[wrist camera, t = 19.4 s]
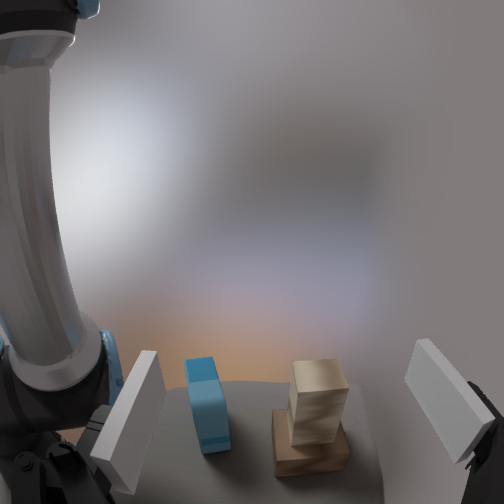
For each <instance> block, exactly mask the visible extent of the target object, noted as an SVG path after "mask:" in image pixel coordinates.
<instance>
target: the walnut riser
mask: <svg viewBox="0 0 504 504" xmlns="http://www.w3.org/2000/svg"><path fill="white" fill-rule="evenodd" d="M287 412H288V409H284V410H272V428H271V430H272V443H273V457H274V470H275V477H286V476H298V475H308V474H317V473H324V472H331V471H338V470H343V469H344V467H345V464H346V462H347V460H348V457H349V455H350V453H351V452H350V449H349V445H348V442H347V439H346V436H345V433H344V429H343V426H342V423H341V420H340V423H339V426H338V429H337V433H336V436H335V439H334V442H330V443H322V444H312V445H301V446H291V444H290V436H289V428H288V420H287Z"/></svg>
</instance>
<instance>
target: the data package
mask: <svg viewBox="0 0 504 504" xmlns="http://www.w3.org/2000/svg"><path fill="white" fill-rule="evenodd" d="M184 365H185V372H186V378H187V385H188V391H189V397H190V403H191V408H192V414H193V418H194V423H195V427H196V431H197V436H198V440H199V444H200V448H201V452H202V454H206V453H213V452H220V451H226V450H230V449H231V442H230V433H229V423H228V413H227V406H226V401H225V397H224V394H223V391H222V387H221V384H220V381H219V378H218V374H217V371H216V367H215V364H214V361H213V358H212V357H203V358H195V359H186V360H184Z"/></svg>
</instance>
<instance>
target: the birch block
mask: <svg viewBox="0 0 504 504" xmlns="http://www.w3.org/2000/svg"><path fill="white" fill-rule="evenodd" d="M348 390H349V387H348V384H347V382H346V379H345V377H344V374H343V372H342V369H341V367H340V364H339V362H338V360H337V359H324V360H310V361H292V369H291V381H290V392H289V402H288V412H287V420H288V428H289V436H290V444H291V446H301V445H312V444H322V443H330V442H334V439H335V436H336V433H337V429H338V426H339V423H340V419H341V416H342V412H343V409H344V405H345V401H346V397H347V393H348Z"/></svg>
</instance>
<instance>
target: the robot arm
mask: <svg viewBox="0 0 504 504" xmlns="http://www.w3.org/2000/svg"><path fill="white" fill-rule="evenodd" d="M99 3H100V0H0V324H1V326H2V328H3V330H4V332H5V334H6V335H7V337H8V339H9V341H10V345H8V346H6V345H4V340H3V338H2V337H1V336H0V472H1V475H2V476H3V478H4V479H5V481H6V482H7V483H8V484H9V485H10V486H11V487H12V504H116V502H115V500H114V499H113V497H112V495H111V494H110V492H109V491H110V489H111V486H113V487H114V489H115V490H116V491H118V492H122V493H126V494H130V495H134V494H135V491H136V487H137V484H138V481H139V477H140V474H141V471H142V467H143V464H144V461H145V457H146V454H147V451H148V448H149V444H150V441H151V438H152V435H153V432H154V429H155V426H156V422H157V419H158V416H159V413H160V410H161V407H162V404H163V401H164V398H165V395H166V389H165V385H164V381H163V377H162V372H161V368H160V363H159V359H158V355H157V352H156V351H145V350H142V352H141V354H140V356H139V357H138V360H137V361H136V363H135V365H134V367H133V369H132V371H131V373H130V375H129V377H128V378H127V380H126V382H125V384H124V382H123V376H122V369H121V364H120V360H119V356H118V351H117V347H116V343H115V339H114V336H113V334H112V332H111V331H109V330H103V329H98V328H97V326H96V324H95V322H94V321H93V320H92V318H90V317H89V316H88V315H87V314H85V313H84V312H82V311H80V310H78V307H77V303H76V300H75V296H74V293H73V289H72V286H71V282H70V278H69V274H68V270H67V266H66V261H65V257H64V253H63V248H62V243H61V237H60V232H59V226H58V221H57V214H56V207H55V200H54V192H53V183H52V173H51V159H50V140H49V139H50V138H49V103H50V102H49V101H50V82H51V69H52V66H53V64H54V63H55V61H56V60H57V59H58V58H59V57H60V56H61V55H62V54H63V53H64V52H65V51H66V50H67V49H68V48H69V47H70V46H71V45H72V44H73V43H74V41H75V34H76V28H77V23H78V20H79V19H81V20H82V21H83V20H87V19H89V18H90V17H93V16H95V15H97V14H98V12H99ZM404 380H405V382H406V384H407V385H408V387H409V388H410V390H411V391H412V393H413V395H414V396H415V398H416V399H417V401H418V403H419V404H420V406H421V408H422V409H423V411H424V412H425V414H426V416H427V417H428V419H429V421H430V422H431V424H432V426H433V427H434V429H435V431H436V432H437V434H438V436H439V438H440V439H441V441H442V443H443V445H444V446H445V448H446V450H447V452H448V453H449V455H450V457H451V459H452V461H453V462H454V464H456V463H459V462H461V461H463V460H465V459H467V458H468V456H469V455H470V454H471V453H472V451H474V453H475V456H474V457H473V458H472V459H471V461H470V462H469V463H468V464H467V466H466V468H465V469H467V468H468V467H469V466H470V465H471V468H470V473H469V477H468V481H467V485H466V488H465V492H464V495H463V499H462V502H461V504H504V417H503V416H501V414H500V413H499V412H498V410H497V409H496V408H495V407H494V405H493V404H492V403H491V402H490V400H489V399H487V397H486V396H485V394H483V392H482V391H481V390H480V389H479V387H478V386H477V385H475V384H473V383H472V382H470V381H468V382H466V381H465V380H464V379H463V377H462V376H461V375H460V374H459V373H458V372H457V370H456V369H455V368H454V367H453V366H452V365H451V363H450V362H449V361H448V360H447V359H446V358H445V357H444V356H443V354H442V353H441V352H440V351H439V350H438V349H437V348H436V347H435V345H434V344H433V343H432V342H431V341H430V340H429V339H428V338H426V339H420V340H417V341H416V345H415V348H414V351H413V355H412V358H411V361H410V364H409V367H408V371H407V373H406V376H405V379H404ZM80 427H86V429H85V430H84V432H83V433H82V435H81V437H80V439H79V441H78V443H77V445H76V447H75V446H74V445H73V444H71V443H70V442H67V441H66V440H65V439H64V438H63V437H62V436H61V435H60V434H59V433H57V432H56V431H59V430H65V429H74V428H80Z"/></svg>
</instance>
